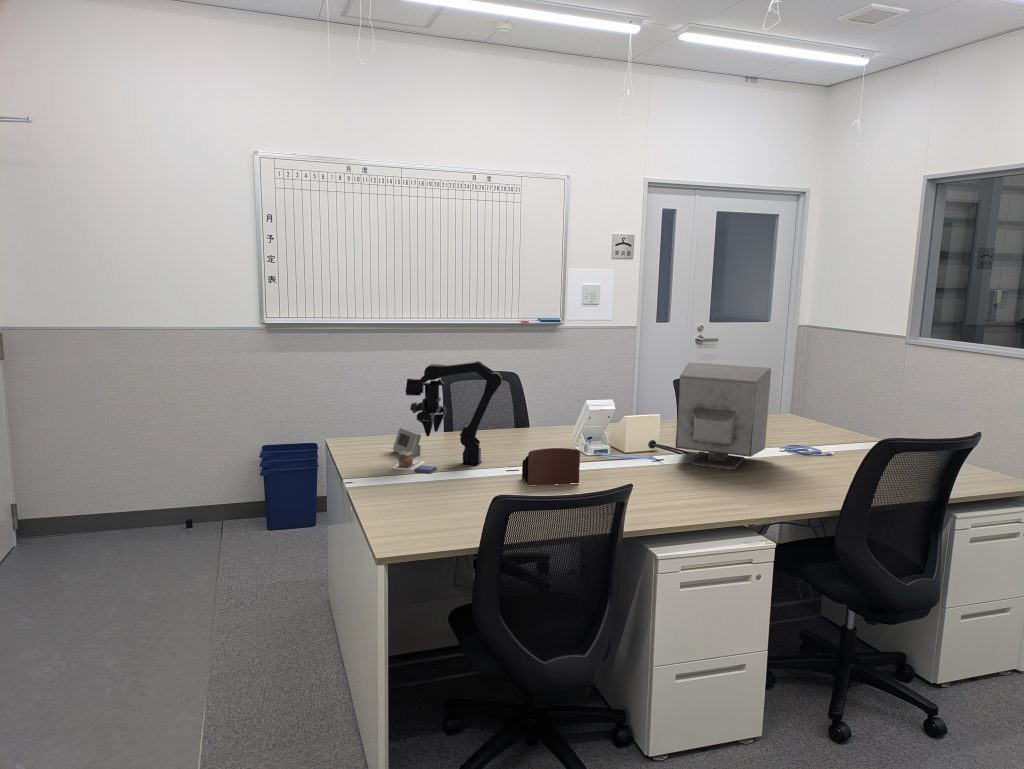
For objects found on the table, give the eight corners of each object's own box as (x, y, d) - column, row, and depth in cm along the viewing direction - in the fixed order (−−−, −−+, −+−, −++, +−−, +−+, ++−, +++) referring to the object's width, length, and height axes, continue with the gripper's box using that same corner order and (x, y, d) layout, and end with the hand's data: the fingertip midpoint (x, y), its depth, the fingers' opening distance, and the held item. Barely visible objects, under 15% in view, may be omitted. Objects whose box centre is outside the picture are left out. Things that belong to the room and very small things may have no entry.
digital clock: (391, 451, 318) (391, 427, 316) (411, 449, 322) (411, 425, 320) (403, 460, 304) (403, 435, 302) (424, 458, 308) (424, 433, 306)
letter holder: (579, 484, 275) (580, 448, 273) (527, 486, 271) (528, 449, 269) (571, 477, 285) (573, 441, 282) (521, 479, 280) (522, 443, 278)
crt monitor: (764, 458, 321) (771, 367, 315) (753, 479, 287) (761, 378, 281) (683, 449, 335) (689, 361, 329) (664, 467, 302) (670, 370, 296)
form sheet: (425, 462, 300) (425, 461, 300) (412, 470, 288) (412, 469, 287) (405, 460, 302) (405, 459, 302) (391, 468, 290) (391, 467, 290)
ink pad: (436, 469, 290) (436, 466, 290) (431, 473, 284) (431, 470, 284) (420, 468, 292) (420, 464, 292) (414, 471, 286) (414, 468, 286)
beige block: (412, 465, 293) (412, 452, 292) (408, 468, 289) (408, 454, 289) (403, 464, 294) (403, 451, 293) (398, 467, 290) (398, 453, 290)
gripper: (421, 391, 308) (421, 427, 310) (404, 398, 290) (404, 437, 292) (447, 392, 305) (446, 429, 307) (430, 400, 287) (430, 439, 290)
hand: (431, 433), depth 299 cm, fingers open, 9 cm apart
